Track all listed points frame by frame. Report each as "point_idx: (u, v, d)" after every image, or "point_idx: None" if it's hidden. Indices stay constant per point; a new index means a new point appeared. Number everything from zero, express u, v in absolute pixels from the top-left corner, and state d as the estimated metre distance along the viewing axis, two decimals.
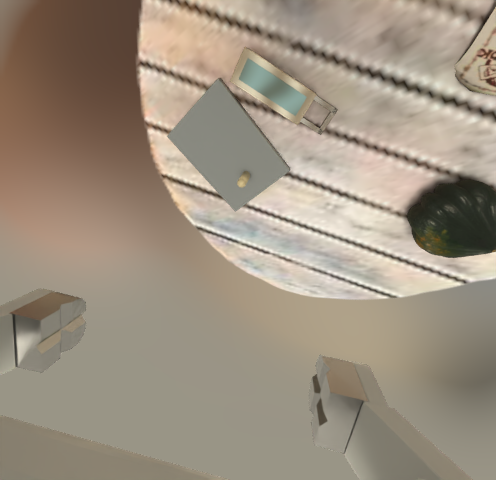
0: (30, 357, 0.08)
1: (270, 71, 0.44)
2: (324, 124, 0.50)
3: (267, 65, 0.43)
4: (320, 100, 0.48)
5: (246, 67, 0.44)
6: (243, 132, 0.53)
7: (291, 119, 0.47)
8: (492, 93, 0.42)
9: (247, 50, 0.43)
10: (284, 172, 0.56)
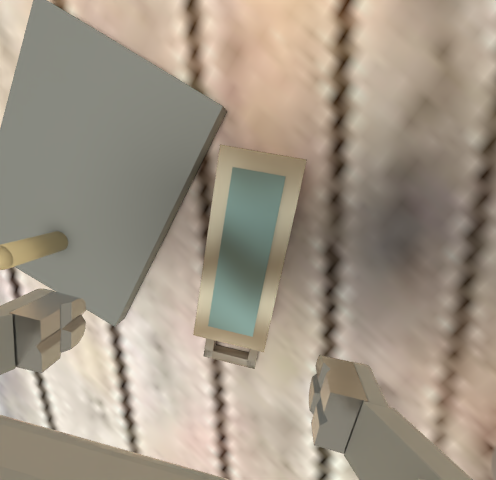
0: (30, 357, 0.08)
1: (274, 240, 0.18)
2: (223, 356, 0.25)
3: (284, 229, 0.17)
4: None
5: (264, 180, 0.17)
6: (139, 204, 0.22)
7: (198, 318, 0.20)
8: None
9: (300, 169, 0.16)
10: (106, 317, 0.25)
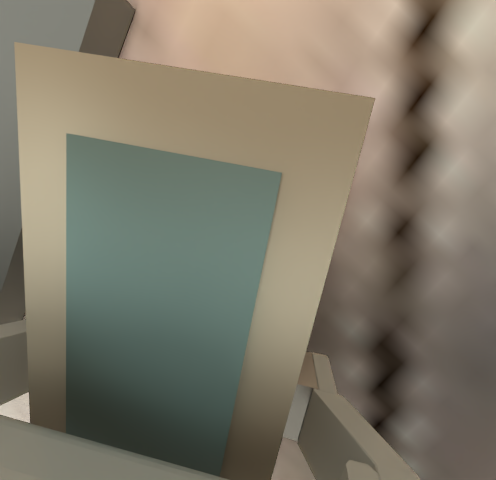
0: None
1: (244, 397, 0.05)
2: None
3: (277, 363, 0.05)
4: None
5: (194, 187, 0.04)
6: None
7: None
8: None
9: (346, 144, 0.04)
10: None
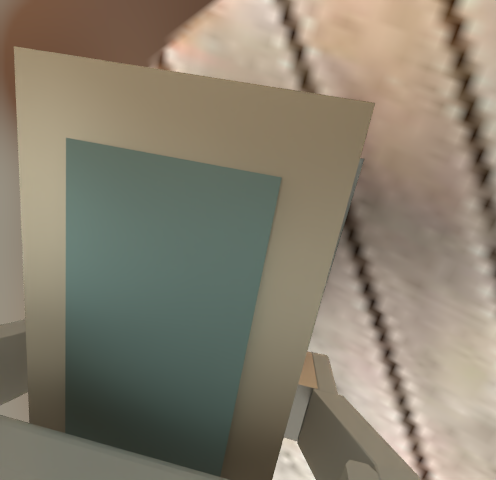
0: None
1: (244, 401, 0.05)
2: None
3: (277, 368, 0.05)
4: None
5: (194, 191, 0.04)
6: None
7: None
8: None
9: (346, 149, 0.04)
10: None
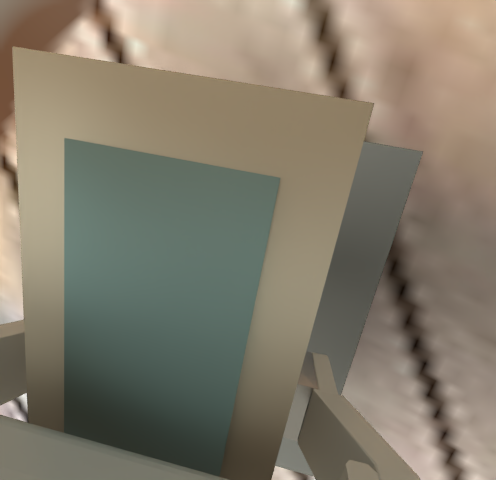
0: None
1: (243, 402, 0.05)
2: None
3: (276, 368, 0.05)
4: None
5: (192, 192, 0.04)
6: (318, 318, 0.16)
7: None
8: None
9: (345, 149, 0.04)
10: (298, 468, 0.18)
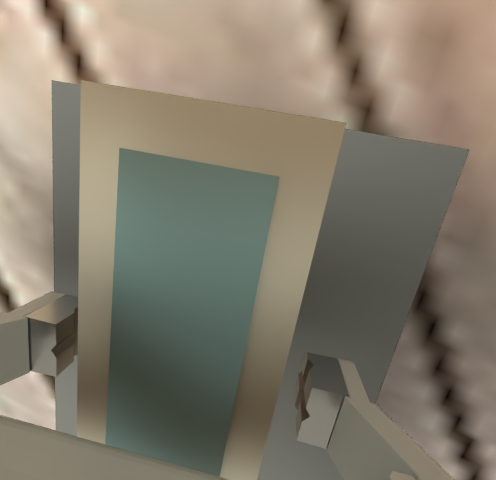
0: (45, 361, 0.08)
1: (251, 351, 0.06)
2: None
3: (277, 323, 0.06)
4: None
5: (214, 187, 0.05)
6: None
7: None
8: None
9: (326, 155, 0.05)
10: None
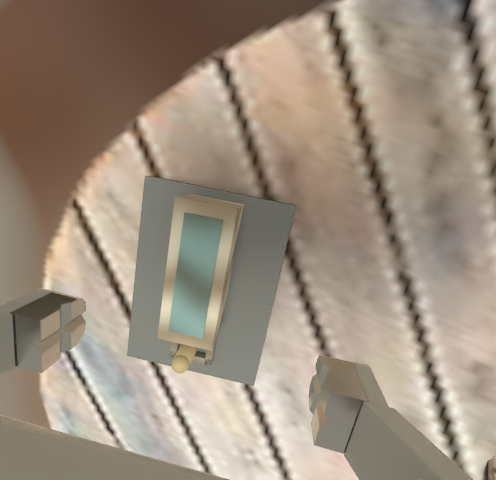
0: (30, 357, 0.08)
1: (217, 266, 0.24)
2: None
3: (223, 257, 0.23)
4: None
5: (207, 222, 0.23)
6: (251, 290, 0.29)
7: (161, 325, 0.25)
8: None
9: (233, 215, 0.22)
10: (245, 381, 0.32)
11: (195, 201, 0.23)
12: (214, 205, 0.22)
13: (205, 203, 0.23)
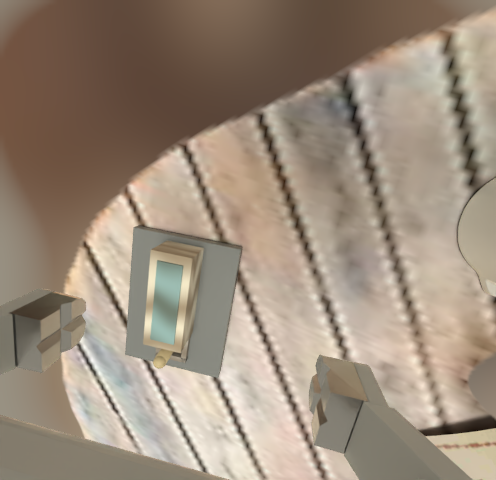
0: (30, 357, 0.08)
1: (181, 296, 0.34)
2: None
3: (185, 290, 0.34)
4: (186, 343, 0.41)
5: (172, 267, 0.33)
6: (212, 308, 0.40)
7: (145, 335, 0.36)
8: None
9: (190, 262, 0.33)
10: (211, 374, 0.42)
11: (164, 253, 0.33)
12: (177, 256, 0.33)
13: (171, 254, 0.33)
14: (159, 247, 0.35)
